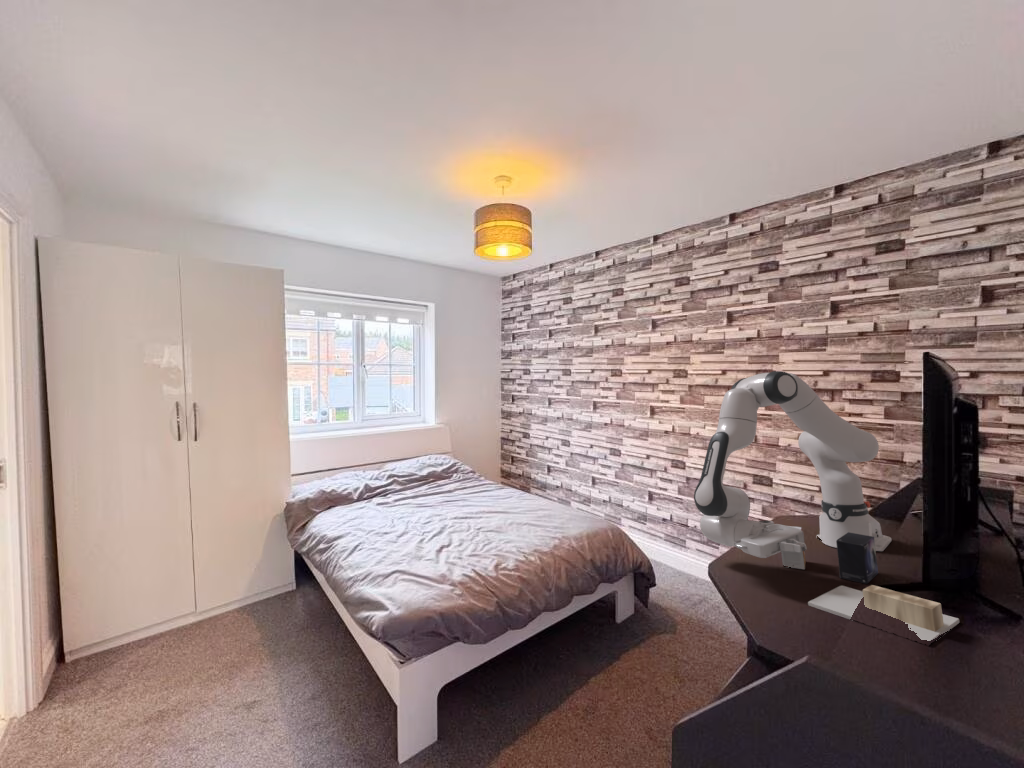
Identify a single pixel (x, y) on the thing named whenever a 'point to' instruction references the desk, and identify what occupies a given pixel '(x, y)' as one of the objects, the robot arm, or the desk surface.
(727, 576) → the desk surface
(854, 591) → the rubber mat
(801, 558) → the small box
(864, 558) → the small box
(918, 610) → the maple block
